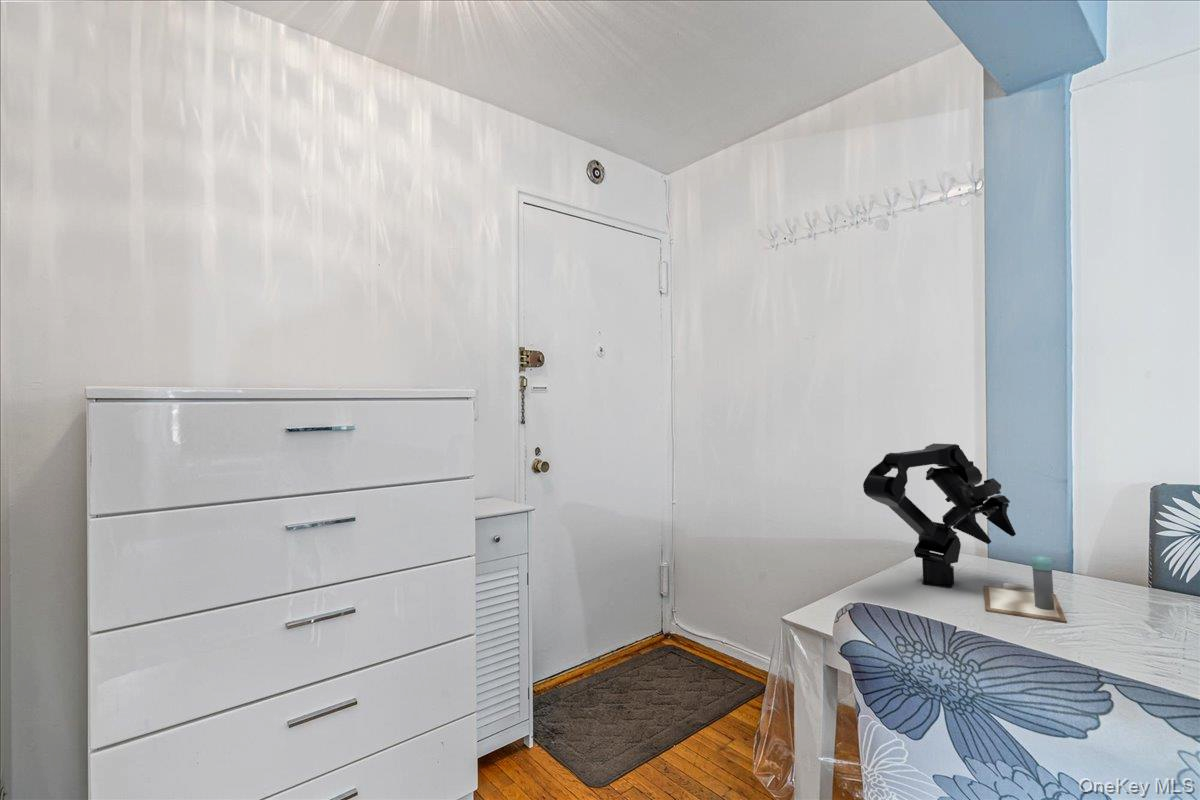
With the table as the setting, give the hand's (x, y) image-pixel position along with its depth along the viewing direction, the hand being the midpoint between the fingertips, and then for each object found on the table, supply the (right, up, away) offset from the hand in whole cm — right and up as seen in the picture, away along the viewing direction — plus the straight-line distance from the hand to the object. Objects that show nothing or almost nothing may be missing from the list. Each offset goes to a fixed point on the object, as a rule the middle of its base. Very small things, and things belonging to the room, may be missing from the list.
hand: (1002, 539), depth 134 cm
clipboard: (-1, -13, -8) cm, 15 cm away
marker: (0, -12, -12) cm, 17 cm away
